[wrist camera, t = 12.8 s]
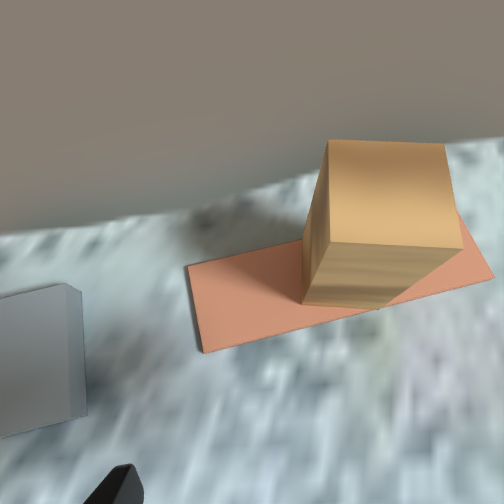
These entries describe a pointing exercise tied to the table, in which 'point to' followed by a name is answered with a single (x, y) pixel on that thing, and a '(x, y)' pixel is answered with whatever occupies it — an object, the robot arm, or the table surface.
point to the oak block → (377, 222)
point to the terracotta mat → (294, 292)
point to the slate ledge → (41, 359)
